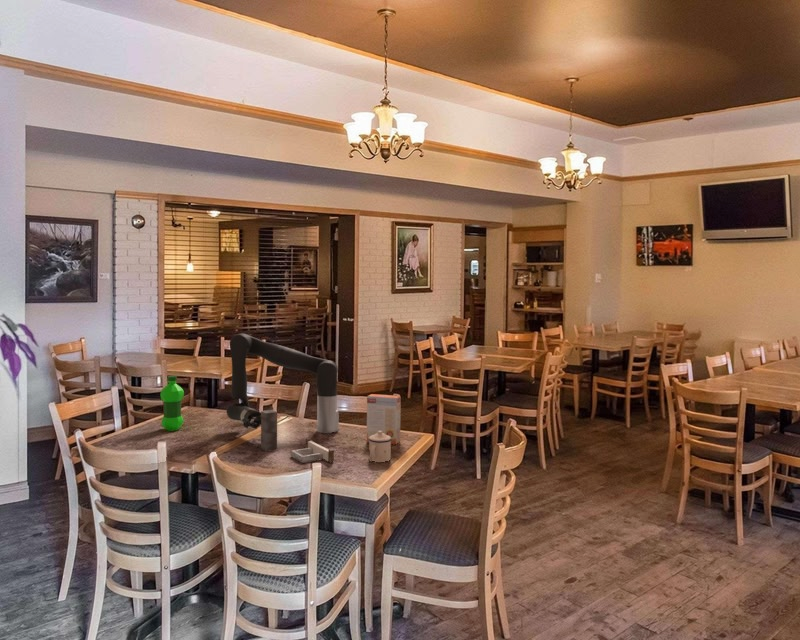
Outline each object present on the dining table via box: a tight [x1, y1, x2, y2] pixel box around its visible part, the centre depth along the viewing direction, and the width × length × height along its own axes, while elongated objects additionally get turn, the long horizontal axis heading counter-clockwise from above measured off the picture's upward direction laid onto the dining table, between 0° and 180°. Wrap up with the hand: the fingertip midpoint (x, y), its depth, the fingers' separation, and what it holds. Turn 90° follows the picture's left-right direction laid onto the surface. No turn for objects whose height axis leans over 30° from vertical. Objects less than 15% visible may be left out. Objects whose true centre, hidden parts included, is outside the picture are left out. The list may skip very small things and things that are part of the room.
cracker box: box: [366, 393, 402, 445], centre depth 273 cm, size 14×6×21 cm, turn 71°
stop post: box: [260, 409, 278, 452], centre depth 260 cm, size 5×5×16 cm
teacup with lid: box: [368, 431, 392, 463], centre depth 246 cm, size 12×9×12 cm
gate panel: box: [308, 440, 330, 462], centre depth 251 cm, size 18×2×4 cm, turn 35°
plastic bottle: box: [159, 375, 185, 432], centre depth 289 cm, size 10×10×25 cm
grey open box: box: [290, 437, 335, 464], centre depth 248 cm, size 11×21×5 cm, turn 35°
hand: (265, 425), depth 262 cm, fingers open, 8 cm apart
